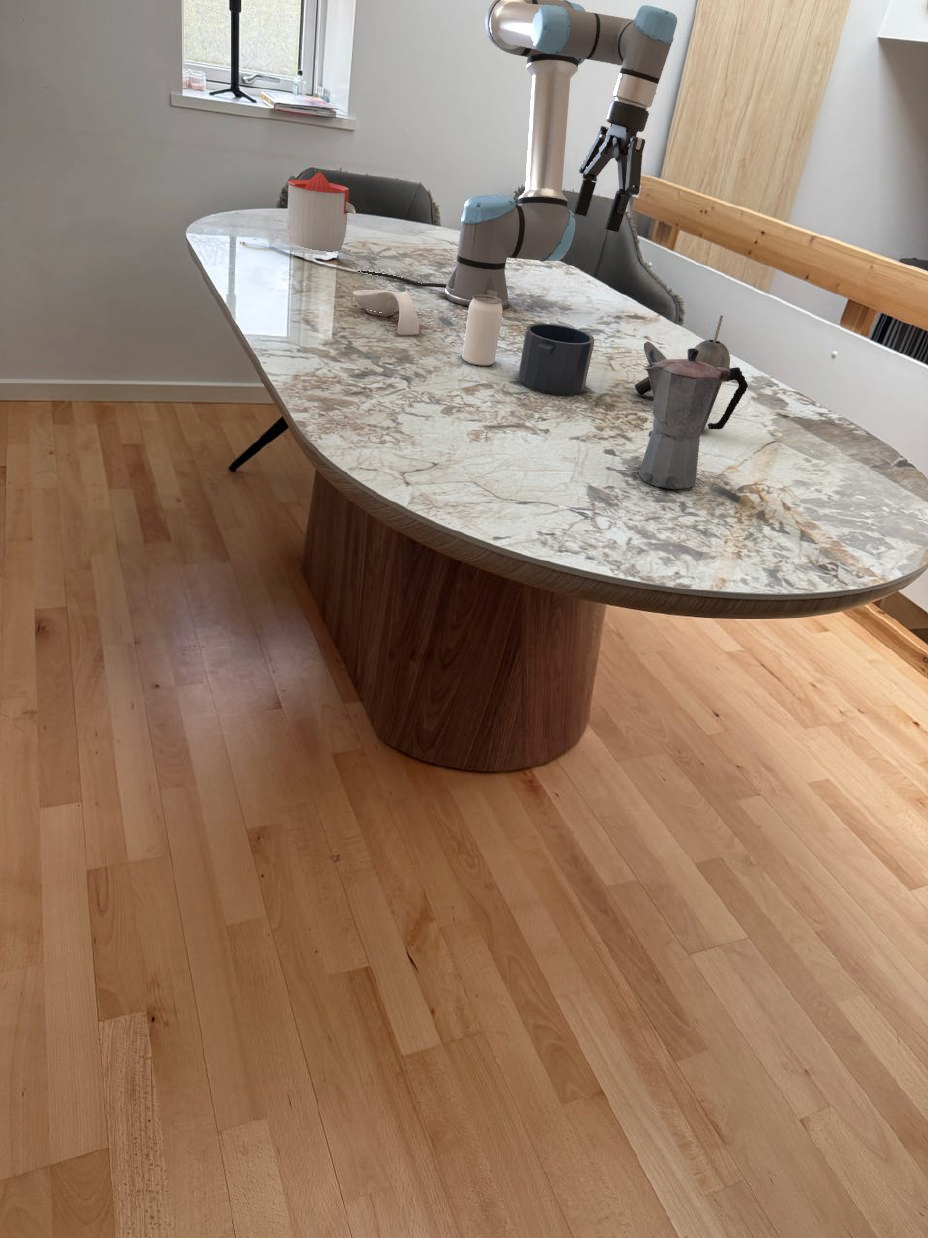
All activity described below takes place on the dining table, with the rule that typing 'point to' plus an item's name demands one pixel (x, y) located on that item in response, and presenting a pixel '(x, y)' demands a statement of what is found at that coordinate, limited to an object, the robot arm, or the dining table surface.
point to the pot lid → (652, 357)
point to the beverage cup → (713, 359)
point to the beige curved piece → (390, 307)
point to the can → (482, 330)
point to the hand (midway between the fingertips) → (595, 222)
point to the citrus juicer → (318, 213)
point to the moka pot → (682, 417)
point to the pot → (555, 359)
